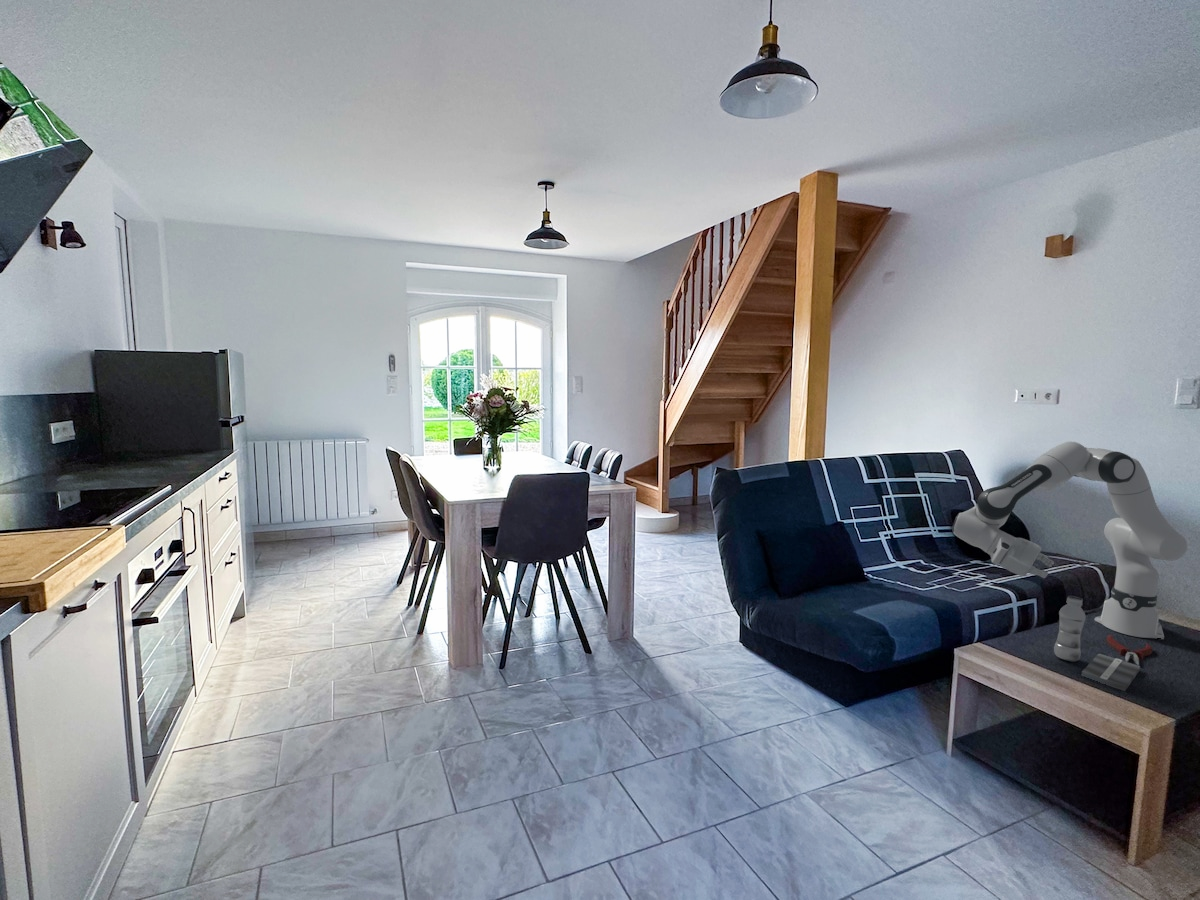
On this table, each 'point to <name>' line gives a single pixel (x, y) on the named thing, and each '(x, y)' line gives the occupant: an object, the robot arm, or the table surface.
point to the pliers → (1127, 652)
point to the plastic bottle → (1070, 630)
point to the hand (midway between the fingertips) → (1049, 570)
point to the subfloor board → (1111, 671)
